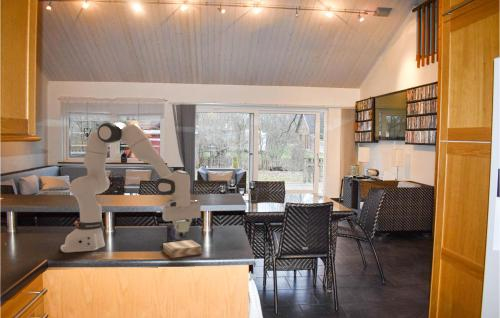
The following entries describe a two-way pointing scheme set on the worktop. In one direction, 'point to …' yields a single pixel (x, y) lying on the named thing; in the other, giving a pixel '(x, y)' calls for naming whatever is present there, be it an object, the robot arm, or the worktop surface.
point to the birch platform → (181, 248)
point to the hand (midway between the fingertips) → (182, 227)
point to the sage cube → (182, 226)
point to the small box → (174, 234)
